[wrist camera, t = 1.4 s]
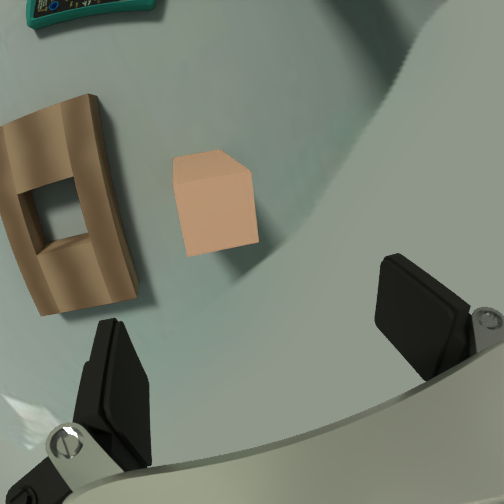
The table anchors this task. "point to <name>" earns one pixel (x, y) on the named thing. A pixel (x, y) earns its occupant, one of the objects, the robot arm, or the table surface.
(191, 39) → the table surface
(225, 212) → the square peg
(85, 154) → the wooden peg hole block
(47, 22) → the digital multimeter
